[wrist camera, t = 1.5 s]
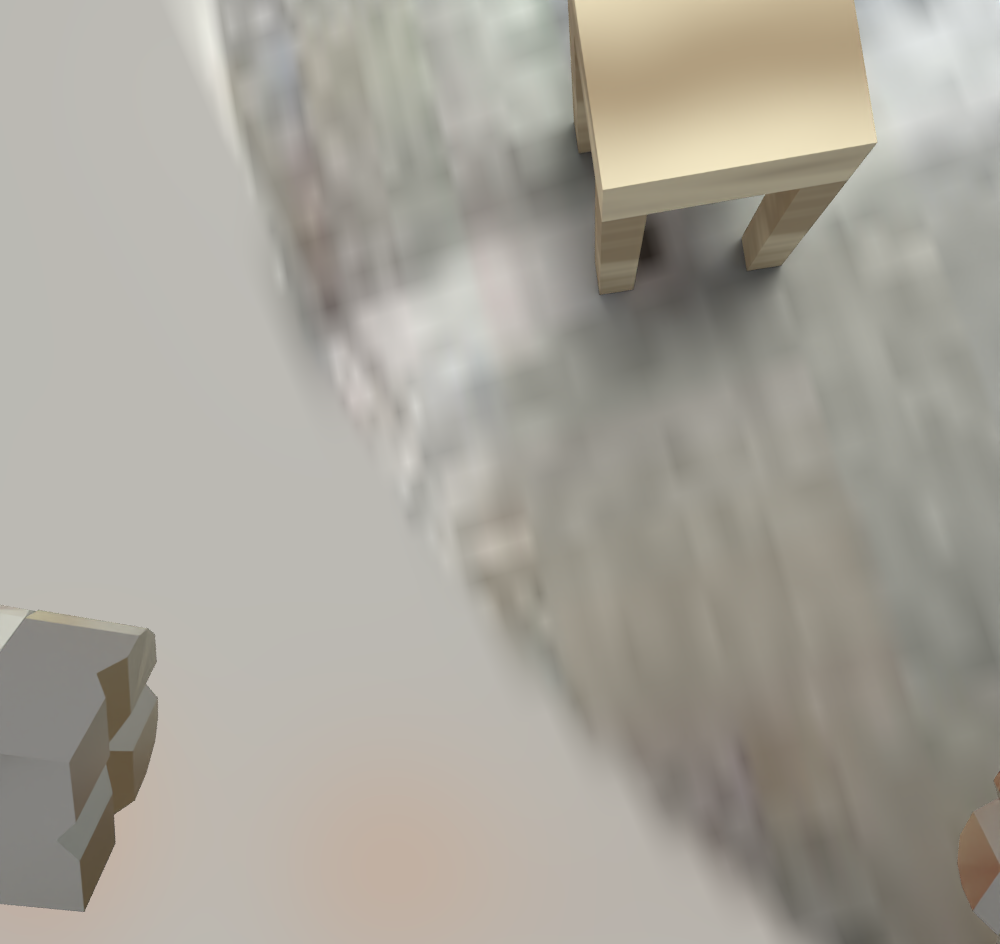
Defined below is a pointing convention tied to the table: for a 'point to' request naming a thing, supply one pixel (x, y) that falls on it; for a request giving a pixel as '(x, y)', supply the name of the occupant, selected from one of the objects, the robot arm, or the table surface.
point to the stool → (716, 115)
